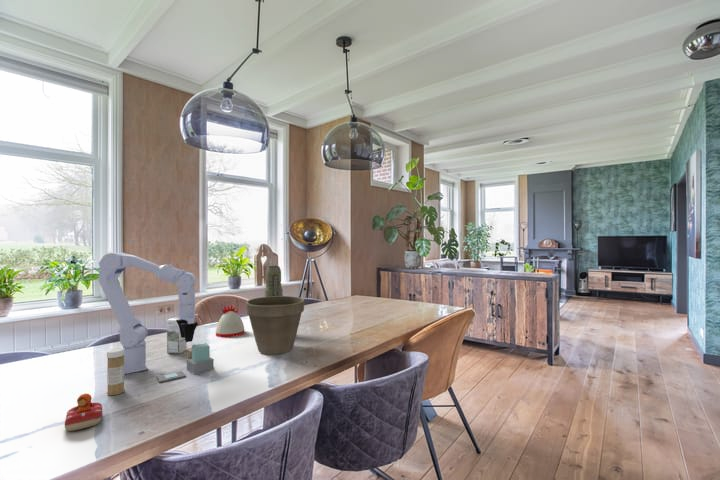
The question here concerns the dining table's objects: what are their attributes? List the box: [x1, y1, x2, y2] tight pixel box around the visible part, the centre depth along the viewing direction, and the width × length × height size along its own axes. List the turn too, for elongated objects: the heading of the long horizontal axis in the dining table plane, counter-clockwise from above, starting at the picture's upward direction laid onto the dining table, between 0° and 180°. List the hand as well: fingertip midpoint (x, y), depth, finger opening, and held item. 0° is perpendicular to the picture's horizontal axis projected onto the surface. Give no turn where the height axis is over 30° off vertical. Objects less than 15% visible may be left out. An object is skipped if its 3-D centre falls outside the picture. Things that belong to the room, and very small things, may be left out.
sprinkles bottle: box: [106, 347, 125, 396], centre depth 110 cm, size 5×5×14 cm
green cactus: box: [264, 265, 284, 297], centre depth 178 cm, size 9×12×35 cm
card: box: [156, 370, 187, 384], centre depth 122 cm, size 8×6×1 cm
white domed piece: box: [215, 304, 245, 338], centre depth 182 cm, size 14×14×15 cm
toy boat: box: [64, 393, 103, 432], centre depth 92 cm, size 8×12×8 cm, turn 36°
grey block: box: [186, 357, 215, 375], centre depth 130 cm, size 7×7×4 cm
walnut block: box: [186, 347, 192, 360], centre depth 139 cm, size 5×5×5 cm
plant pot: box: [245, 295, 305, 356], centre depth 153 cm, size 25×25×22 cm
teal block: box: [191, 342, 211, 362], centre depth 130 cm, size 5×5×5 cm
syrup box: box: [166, 316, 188, 354], centre depth 153 cm, size 6×6×14 cm
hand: (186, 339), depth 135 cm, fingers open, 7 cm apart
